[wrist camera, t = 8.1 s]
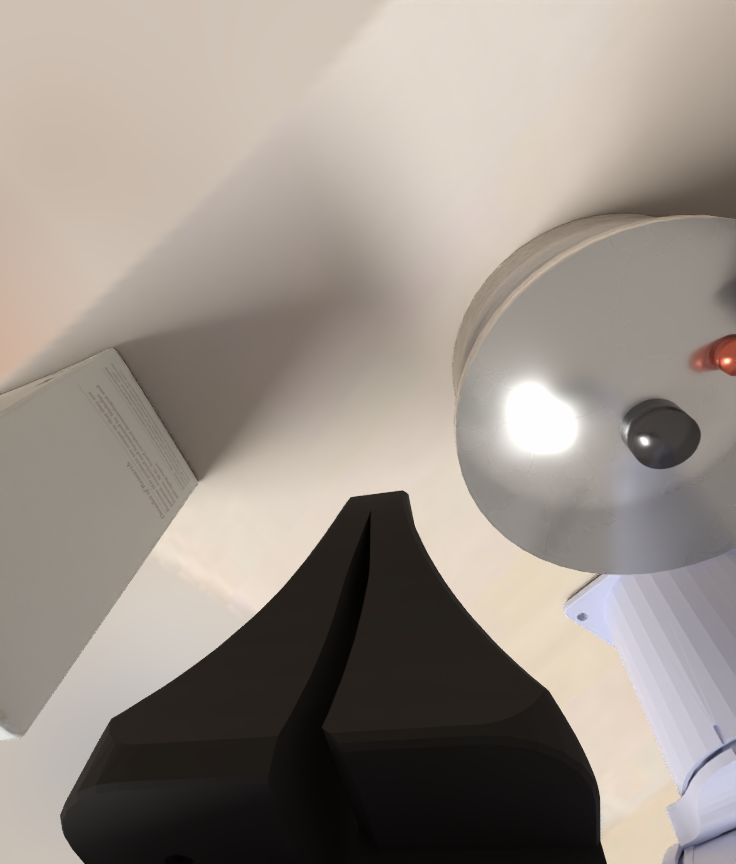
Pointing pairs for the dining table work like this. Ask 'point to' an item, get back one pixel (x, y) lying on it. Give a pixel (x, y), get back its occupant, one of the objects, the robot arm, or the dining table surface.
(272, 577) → the dining table surface
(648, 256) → the lid
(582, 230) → the pot
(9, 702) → the supplement box
